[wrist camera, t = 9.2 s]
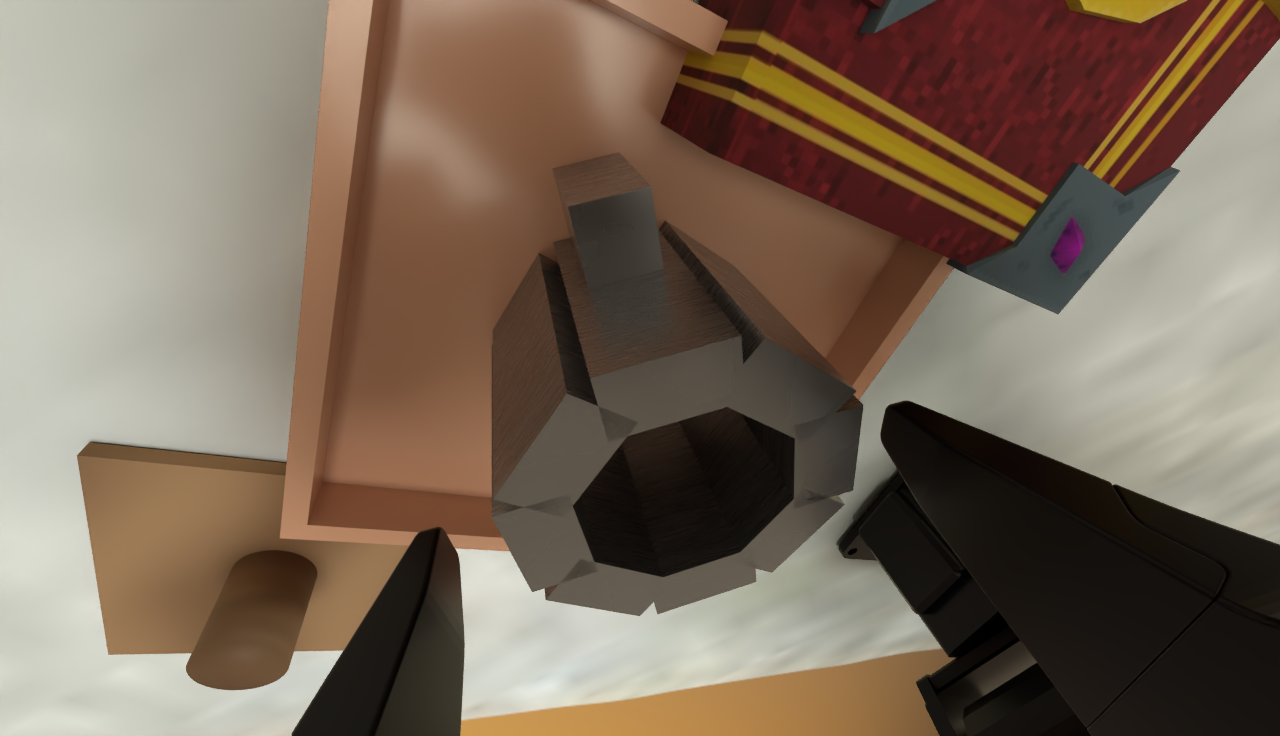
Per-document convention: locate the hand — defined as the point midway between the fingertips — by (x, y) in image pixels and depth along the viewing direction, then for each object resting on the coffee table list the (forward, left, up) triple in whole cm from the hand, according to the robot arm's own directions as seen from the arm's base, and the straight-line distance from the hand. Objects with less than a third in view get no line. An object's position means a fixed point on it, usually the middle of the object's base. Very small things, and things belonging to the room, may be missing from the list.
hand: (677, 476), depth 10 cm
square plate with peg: (+8, +12, -6) cm, 15 cm away
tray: (0, 0, -6) cm, 6 cm away
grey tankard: (0, 0, -6) cm, 6 cm away
